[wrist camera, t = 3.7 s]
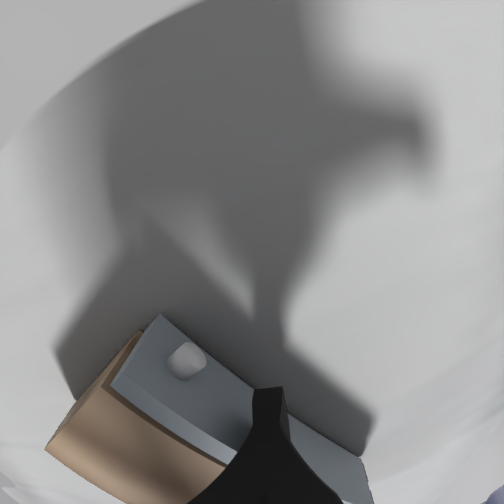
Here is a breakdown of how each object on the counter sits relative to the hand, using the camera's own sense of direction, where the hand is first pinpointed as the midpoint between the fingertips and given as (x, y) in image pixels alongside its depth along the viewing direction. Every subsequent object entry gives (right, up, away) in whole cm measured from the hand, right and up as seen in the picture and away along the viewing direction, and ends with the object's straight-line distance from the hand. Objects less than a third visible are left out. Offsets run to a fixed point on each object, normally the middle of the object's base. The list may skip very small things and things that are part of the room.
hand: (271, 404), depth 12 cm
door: (+1, -2, +3) cm, 4 cm away
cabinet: (-3, -6, +4) cm, 8 cm away
